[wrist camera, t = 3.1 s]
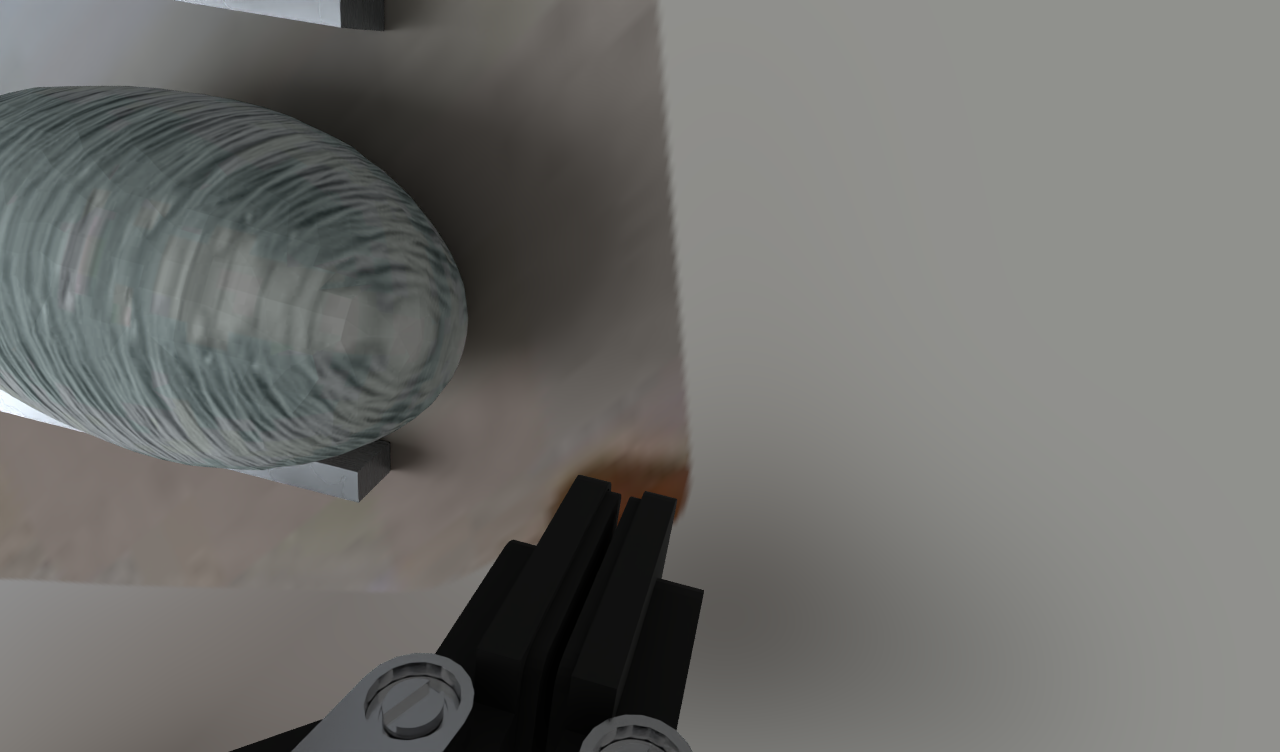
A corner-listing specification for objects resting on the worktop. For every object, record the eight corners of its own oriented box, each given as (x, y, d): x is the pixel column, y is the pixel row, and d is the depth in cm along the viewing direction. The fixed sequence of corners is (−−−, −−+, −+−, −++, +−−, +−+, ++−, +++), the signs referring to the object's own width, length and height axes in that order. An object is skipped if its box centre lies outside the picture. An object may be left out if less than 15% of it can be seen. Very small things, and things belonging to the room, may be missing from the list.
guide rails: (-290, -123, 21) (-392, -141, 19) (383, -20, 18) (338, -29, 17) (-124, 343, 28) (-188, 362, 26) (390, 471, 25) (358, 502, 23)
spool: (11, 380, 22) (-388, 398, 13) (94, 95, 23) (-235, -108, 13) (438, 481, 25) (384, 562, 15) (509, 222, 25) (503, 132, 15)
